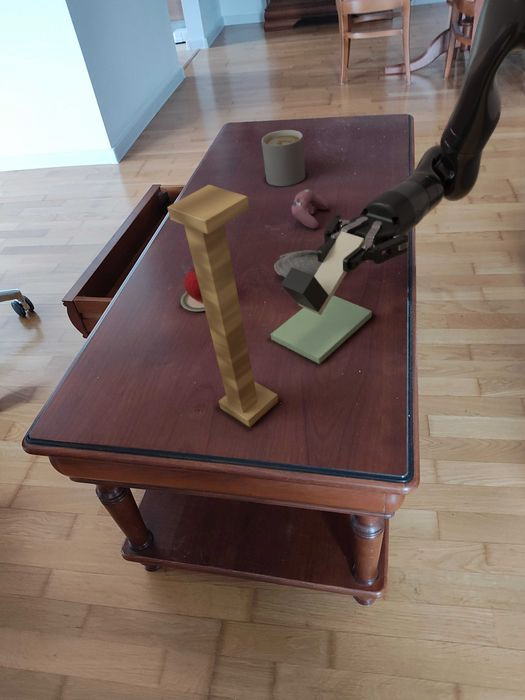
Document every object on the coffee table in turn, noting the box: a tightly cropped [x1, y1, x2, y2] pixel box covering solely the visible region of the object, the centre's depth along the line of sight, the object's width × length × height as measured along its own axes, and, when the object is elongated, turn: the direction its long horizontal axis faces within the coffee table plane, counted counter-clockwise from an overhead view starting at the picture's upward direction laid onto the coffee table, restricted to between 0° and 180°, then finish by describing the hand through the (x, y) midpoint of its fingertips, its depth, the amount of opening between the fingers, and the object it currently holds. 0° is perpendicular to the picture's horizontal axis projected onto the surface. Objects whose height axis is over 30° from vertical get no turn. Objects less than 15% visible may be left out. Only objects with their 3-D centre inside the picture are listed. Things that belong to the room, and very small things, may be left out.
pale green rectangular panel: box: [270, 294, 373, 365], centre depth 84 cm, size 10×14×1 cm
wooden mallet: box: [280, 232, 365, 315], centre depth 74 cm, size 4×13×7 cm, turn 137°
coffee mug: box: [261, 129, 306, 187], centre depth 128 cm, size 13×10×10 cm
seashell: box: [273, 249, 322, 278], centre depth 95 cm, size 12×8×5 cm
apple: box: [180, 268, 205, 312], centre depth 92 cm, size 8×8×6 cm
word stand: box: [167, 184, 279, 428], centre depth 63 cm, size 6×6×32 cm
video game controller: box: [291, 188, 329, 230], centre depth 111 cm, size 10×5×7 cm, turn 161°
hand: (332, 261), depth 75 cm, fingers closed on wooden mallet, 4 cm apart
